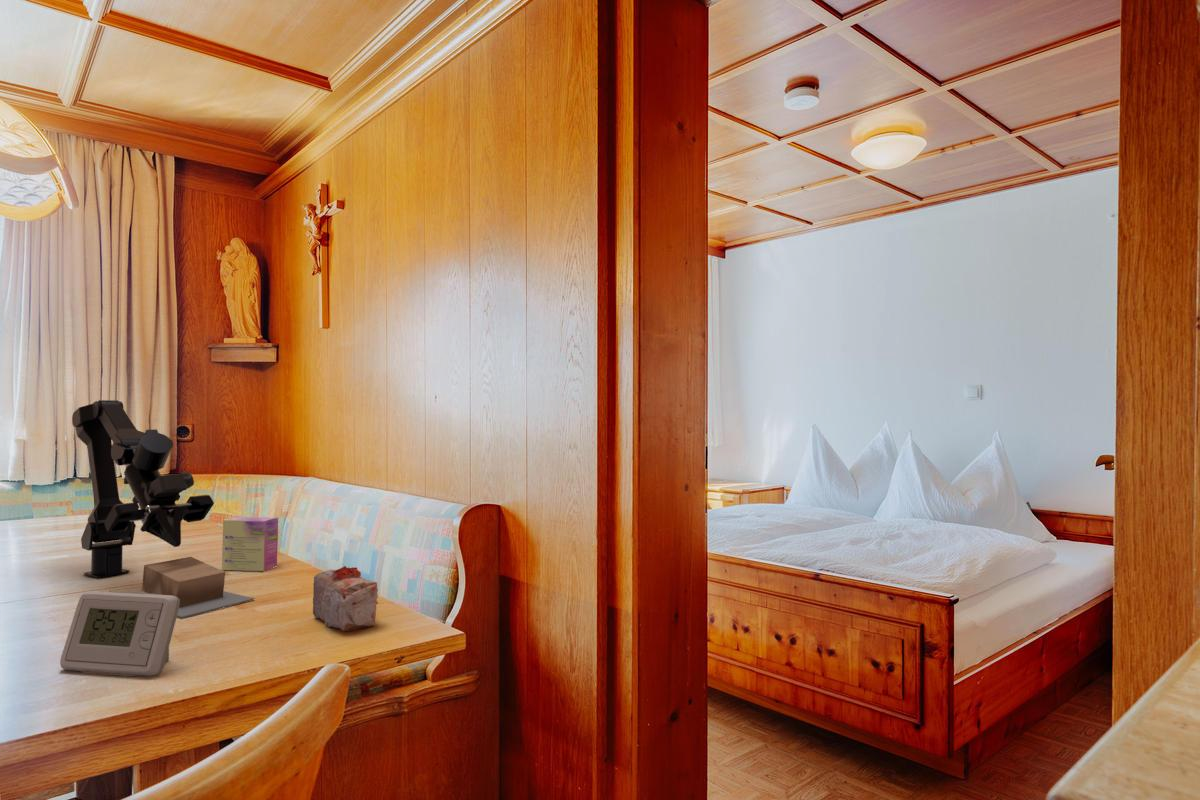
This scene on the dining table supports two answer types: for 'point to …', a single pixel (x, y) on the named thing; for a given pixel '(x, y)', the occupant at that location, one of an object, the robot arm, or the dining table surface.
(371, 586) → the food item
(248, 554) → the box
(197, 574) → the walnut block
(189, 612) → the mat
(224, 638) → the dining table surface
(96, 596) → the digital clock
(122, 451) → the robot arm
